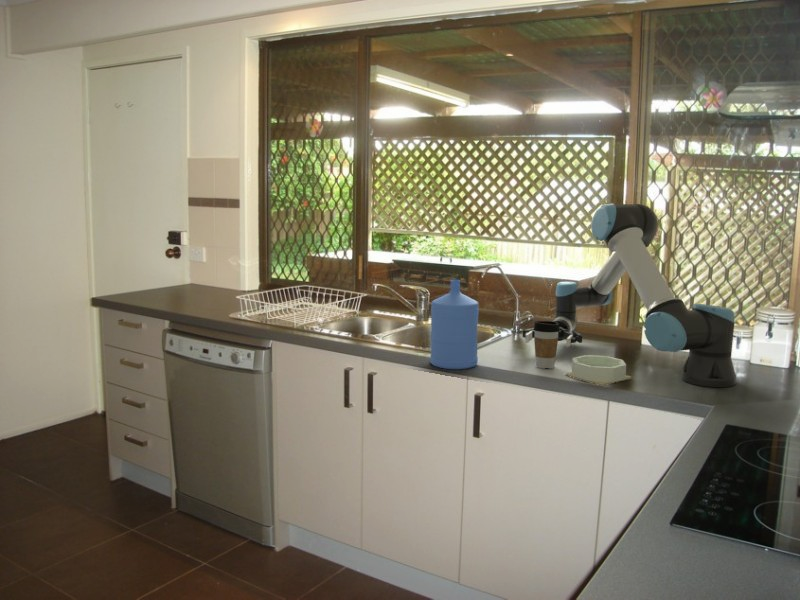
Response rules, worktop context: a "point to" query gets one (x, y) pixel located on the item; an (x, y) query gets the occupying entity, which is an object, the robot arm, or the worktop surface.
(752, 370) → the worktop surface
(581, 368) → the bowl
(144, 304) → the worktop surface
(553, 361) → the coffee cup
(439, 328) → the water jug
